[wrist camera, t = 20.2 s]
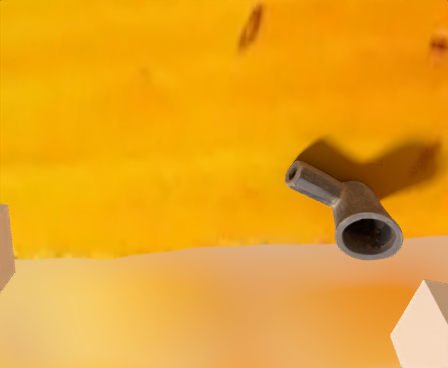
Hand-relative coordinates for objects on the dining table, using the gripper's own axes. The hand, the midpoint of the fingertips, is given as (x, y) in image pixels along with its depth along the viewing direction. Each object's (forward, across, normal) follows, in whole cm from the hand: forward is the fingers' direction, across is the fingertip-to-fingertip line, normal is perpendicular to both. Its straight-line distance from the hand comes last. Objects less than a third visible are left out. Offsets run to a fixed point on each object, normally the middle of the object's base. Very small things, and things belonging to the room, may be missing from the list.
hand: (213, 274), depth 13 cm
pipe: (+32, +14, -13) cm, 37 cm away
